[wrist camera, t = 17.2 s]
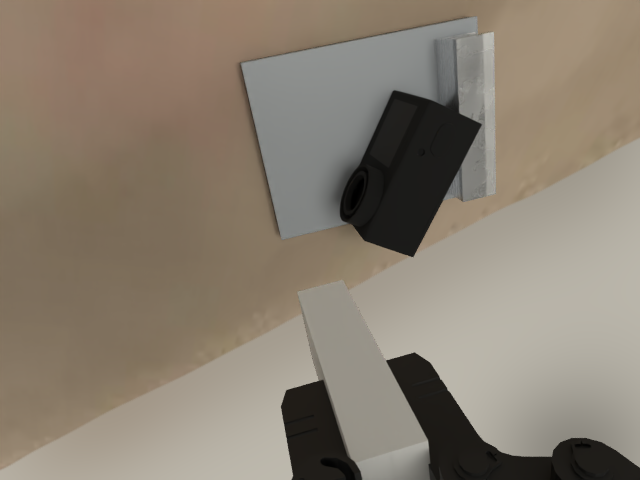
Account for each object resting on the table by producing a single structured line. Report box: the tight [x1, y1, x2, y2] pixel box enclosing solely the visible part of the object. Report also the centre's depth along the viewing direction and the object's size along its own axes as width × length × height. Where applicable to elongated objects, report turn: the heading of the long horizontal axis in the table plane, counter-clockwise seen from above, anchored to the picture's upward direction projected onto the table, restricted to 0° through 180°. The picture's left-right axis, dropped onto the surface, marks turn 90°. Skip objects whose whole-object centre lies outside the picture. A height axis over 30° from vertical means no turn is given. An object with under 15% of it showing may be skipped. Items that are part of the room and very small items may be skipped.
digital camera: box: [340, 90, 482, 257], centre depth 34 cm, size 10×5×7 cm, turn 157°
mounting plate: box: [240, 16, 478, 240], centre depth 37 cm, size 18×14×2 cm
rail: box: [434, 32, 496, 202], centre depth 36 cm, size 3×12×4 cm, turn 10°
